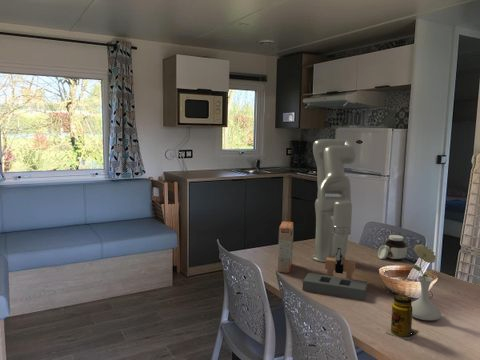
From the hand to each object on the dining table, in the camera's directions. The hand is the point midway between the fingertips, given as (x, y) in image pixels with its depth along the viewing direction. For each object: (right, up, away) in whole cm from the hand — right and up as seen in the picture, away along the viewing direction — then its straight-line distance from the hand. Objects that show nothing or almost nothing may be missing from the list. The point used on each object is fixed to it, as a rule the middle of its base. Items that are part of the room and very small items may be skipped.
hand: (339, 270), depth 177 cm
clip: (0, -4, +1) cm, 4 cm away
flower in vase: (+21, -9, -32) cm, 39 cm away
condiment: (+9, -10, -44) cm, 46 cm away
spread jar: (+34, -1, +32) cm, 46 cm away
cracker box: (-22, -2, +16) cm, 27 cm away
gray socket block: (-5, -6, -11) cm, 13 cm away
